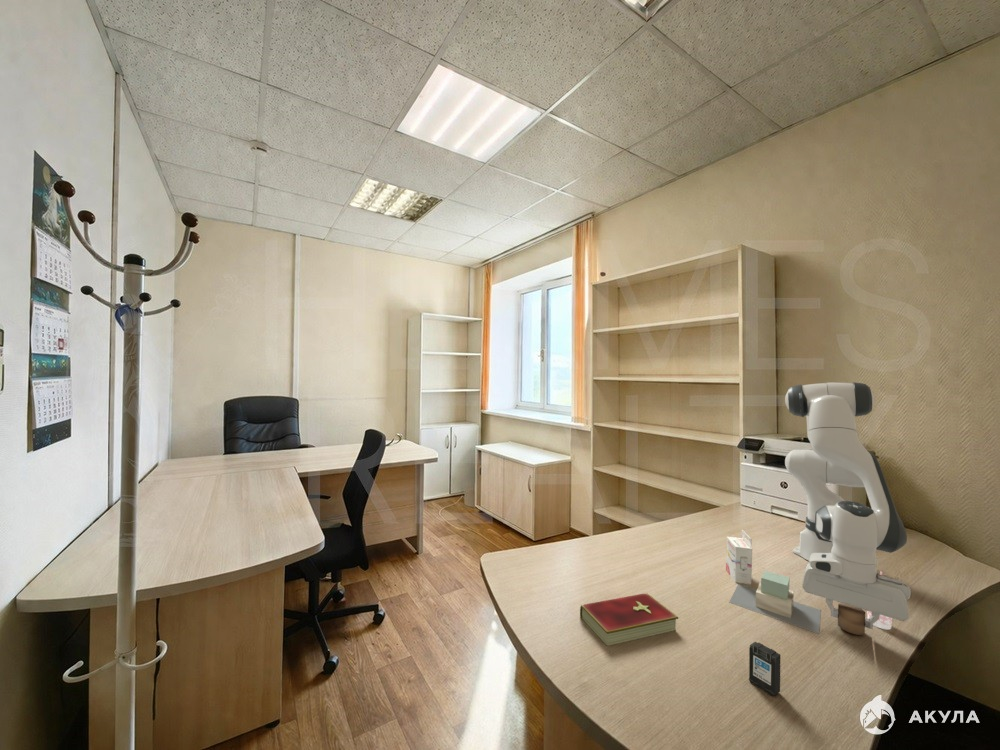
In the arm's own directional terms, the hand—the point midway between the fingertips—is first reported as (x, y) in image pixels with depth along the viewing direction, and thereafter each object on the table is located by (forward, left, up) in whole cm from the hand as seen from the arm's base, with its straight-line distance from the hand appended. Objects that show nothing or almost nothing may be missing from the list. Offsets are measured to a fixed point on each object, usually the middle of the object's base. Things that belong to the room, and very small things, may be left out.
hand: (851, 621), depth 102 cm
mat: (0, -16, -3) cm, 16 cm away
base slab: (0, -16, -2) cm, 16 cm away
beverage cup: (-11, +6, -3) cm, 13 cm away
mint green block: (0, -16, +2) cm, 16 cm away
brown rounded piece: (0, 0, -2) cm, 2 cm away
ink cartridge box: (-12, -27, -3) cm, 30 cm away
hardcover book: (+37, -44, -4) cm, 57 cm away
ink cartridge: (+37, -14, -3) cm, 40 cm away
